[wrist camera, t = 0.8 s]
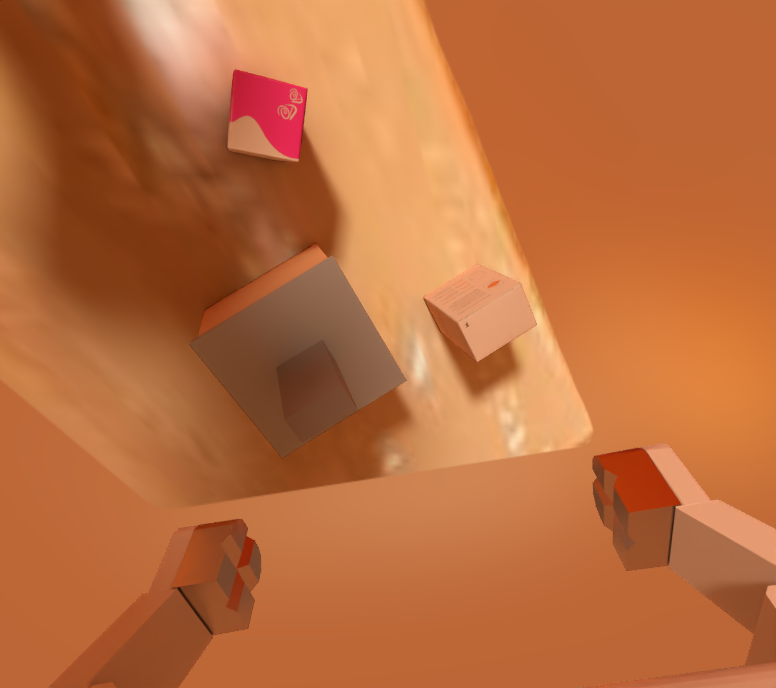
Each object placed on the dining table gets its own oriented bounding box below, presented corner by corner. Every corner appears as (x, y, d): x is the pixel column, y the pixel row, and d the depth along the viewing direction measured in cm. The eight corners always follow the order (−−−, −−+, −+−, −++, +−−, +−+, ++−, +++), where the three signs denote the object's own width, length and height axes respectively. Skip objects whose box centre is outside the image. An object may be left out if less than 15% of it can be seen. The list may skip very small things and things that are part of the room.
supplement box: (287, 162, 50) (298, 165, 40) (226, 150, 48) (222, 149, 38) (294, 101, 48) (309, 86, 38) (231, 85, 46) (228, 66, 36)
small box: (440, 332, 62) (476, 364, 52) (421, 295, 59) (455, 322, 50) (494, 299, 62) (539, 325, 53) (477, 261, 60) (522, 282, 50)
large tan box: (204, 309, 53) (196, 341, 44) (315, 242, 54) (330, 261, 45) (276, 403, 59) (282, 448, 50) (375, 342, 60) (399, 376, 51)
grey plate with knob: (190, 341, 44) (174, 394, 34) (332, 255, 44) (357, 283, 35) (281, 453, 50) (290, 526, 41) (404, 377, 51) (442, 430, 41)
